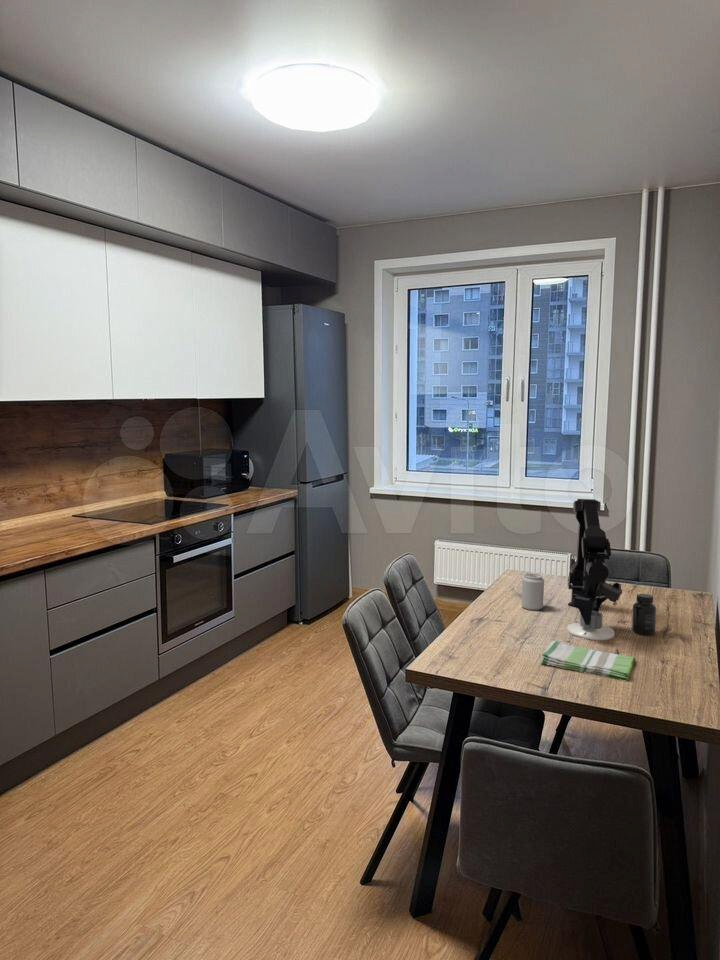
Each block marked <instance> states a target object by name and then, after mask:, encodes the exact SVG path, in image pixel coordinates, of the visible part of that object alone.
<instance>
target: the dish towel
mask: <svg viewBox="0 0 720 960" xmlns="http://www.w3.org/2000/svg"><path fill="white" fill-rule="evenodd" d="M541 656H542V657H543V658H542V659H541V660H540V661H539V662H540V663H542V664H541V665H543V664H549V665H552V666H551V667H553V666H556V667H555V668H558V667H560V668H559V669H562V668H566V669H565V670H567V669H570V670H569V671H572V670H577V671H576V672H578V671H582V672H581V673H583V672H586V673H585V674H588V673H590V674H589V675H592V674H595V675H594V676H597V675H599V677H602V676H604V678H607V677H609V679H612V678H613V680H619V681H623V680H626V681H625V682H627V681H628V680H629V678H630V674H631V673H630V672H632V669H633V666H634V663H635V662H636V657H633V656H630V655H623V654H616V653H611V652H605V651H599V650H594V649H591V648H585V647H580V646H572V645H570V644H566V643H563V642H561V641H559V640H556V639H555V640H552V641H551V642H550V643H549V645H548V647H547V648H546V650H544V651H543V652H542V653H541ZM628 677H629V678H628ZM620 679H621V680H620Z"/></svg>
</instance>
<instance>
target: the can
mask: <svg viewBox="0 0 720 960" xmlns="http://www.w3.org/2000/svg"><path fill="white" fill-rule="evenodd" d="M523 576H524V577H522V581H521V582H522V583H521V584H522V585H521V606H522V607H523V608H524V609H526V610H528V611H539V610H541V609H542V608H543V607H544V594H545V593H544V591H545V579H544V578H543V575H542V574H540V573H528V572H527V573H524V575H523Z"/></svg>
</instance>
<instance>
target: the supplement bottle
mask: <svg viewBox="0 0 720 960" xmlns="http://www.w3.org/2000/svg"><path fill="white" fill-rule="evenodd" d="M653 603H654V596H653V595H652V594H648V593H637V594H636V602H634V603H633V605H632V616H631V617H632V618H631V619H632V621H631V622H632V623H631V631H632V632H633V633H634V634H636V635H639V636H653V635H655V633H656V627H657V626H656V624H657V623H656V622H657V607H656V605H655V604H653Z"/></svg>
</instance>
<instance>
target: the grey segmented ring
mask: <svg viewBox="0 0 720 960" xmlns="http://www.w3.org/2000/svg"><path fill="white" fill-rule="evenodd" d="M579 613H580V612H579ZM579 617H580V618H579V622H580V626H582V627H584V628H587V629H601V628H602V625H603V614H602V612H600V611H599V612H596V611H592V615H591V620H590V624H589V625H586V624H585V622H584V620H583V618H582V615H581V613H580V615H579Z"/></svg>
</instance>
